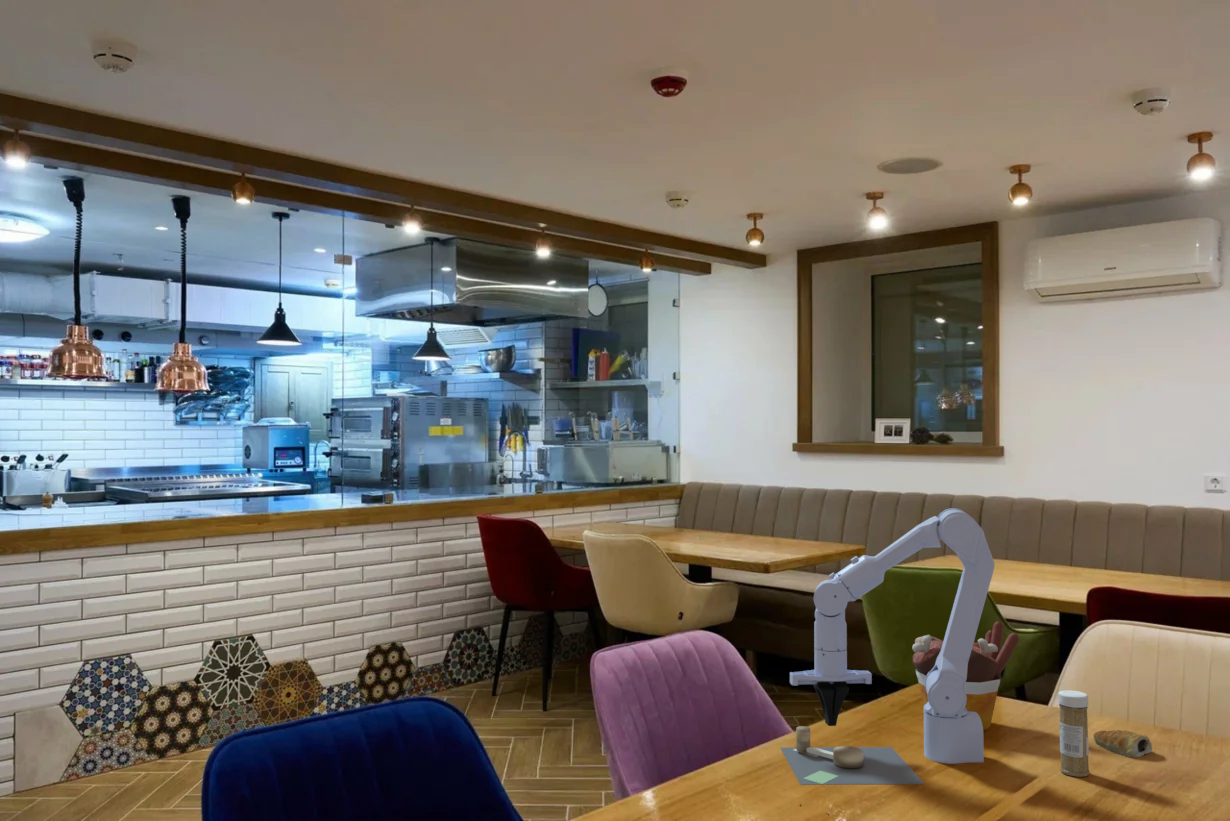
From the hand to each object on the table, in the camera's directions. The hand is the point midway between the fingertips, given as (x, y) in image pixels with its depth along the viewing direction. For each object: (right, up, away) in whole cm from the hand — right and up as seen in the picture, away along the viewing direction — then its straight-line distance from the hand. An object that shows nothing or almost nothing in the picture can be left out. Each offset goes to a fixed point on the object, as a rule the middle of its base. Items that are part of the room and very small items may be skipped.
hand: (830, 724), depth 170 cm
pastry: (+54, -6, +2) cm, 54 cm away
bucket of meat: (+30, -6, +17) cm, 35 cm away
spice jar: (+39, -5, -10) cm, 41 cm away
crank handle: (-2, -4, -6) cm, 8 cm away
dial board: (+1, -5, -9) cm, 11 cm away
